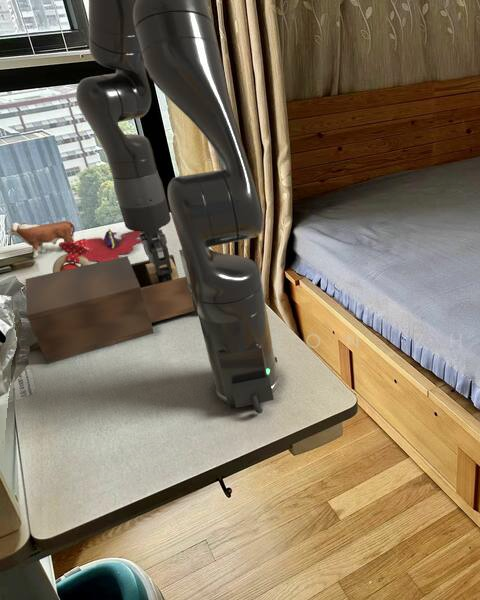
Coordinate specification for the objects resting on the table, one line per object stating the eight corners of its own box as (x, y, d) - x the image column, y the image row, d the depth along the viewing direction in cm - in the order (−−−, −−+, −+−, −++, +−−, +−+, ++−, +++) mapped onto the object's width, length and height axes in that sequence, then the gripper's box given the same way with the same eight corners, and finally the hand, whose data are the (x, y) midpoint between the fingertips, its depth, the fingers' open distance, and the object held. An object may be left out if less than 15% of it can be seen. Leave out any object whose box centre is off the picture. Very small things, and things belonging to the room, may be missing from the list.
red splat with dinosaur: (146, 268, 127) (143, 251, 124) (76, 277, 121) (70, 259, 119) (142, 231, 140) (138, 215, 137) (78, 238, 134) (73, 221, 131)
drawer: (223, 273, 115) (216, 241, 111) (243, 300, 105) (236, 265, 101) (110, 303, 105) (99, 268, 101) (120, 335, 95) (108, 298, 91)
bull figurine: (20, 253, 128) (7, 221, 124) (82, 245, 131) (71, 213, 127) (14, 261, 125) (1, 228, 120) (79, 252, 128) (67, 220, 124)
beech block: (156, 296, 100) (149, 273, 97) (151, 286, 103) (145, 264, 101) (181, 289, 102) (176, 267, 99) (176, 279, 105) (170, 258, 103)
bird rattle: (75, 306, 110) (114, 281, 111) (32, 265, 104) (74, 239, 105) (77, 292, 115) (115, 269, 116) (36, 253, 109) (76, 228, 110)
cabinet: (140, 298, 108) (127, 255, 103) (154, 332, 97) (140, 286, 92) (43, 323, 101) (25, 278, 96) (47, 363, 90) (26, 315, 85)
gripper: (173, 206, 90) (195, 295, 99) (157, 183, 101) (178, 266, 109) (124, 215, 87) (151, 307, 95) (113, 191, 97) (138, 276, 106)
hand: (165, 285), depth 102 cm, fingers closed on beech block, 4 cm apart
